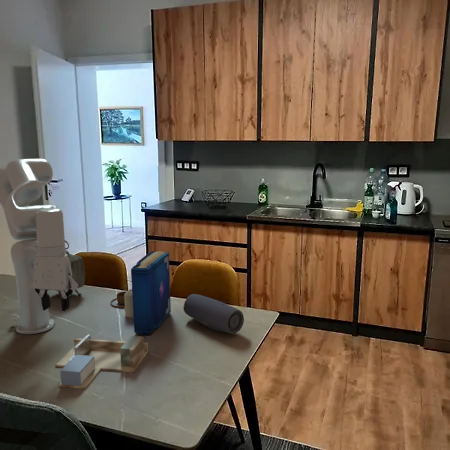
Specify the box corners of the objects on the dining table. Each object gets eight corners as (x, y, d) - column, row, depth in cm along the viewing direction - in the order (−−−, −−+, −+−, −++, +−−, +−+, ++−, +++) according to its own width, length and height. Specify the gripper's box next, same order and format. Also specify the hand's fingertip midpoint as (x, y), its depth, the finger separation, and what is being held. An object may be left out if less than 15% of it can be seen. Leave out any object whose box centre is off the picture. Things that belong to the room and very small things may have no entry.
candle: (127, 319, 163) (126, 293, 161) (123, 314, 168) (122, 289, 166) (141, 316, 166) (140, 291, 164) (137, 311, 170) (136, 287, 169)
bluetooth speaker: (245, 332, 152) (245, 305, 150) (226, 341, 145) (226, 312, 144) (201, 314, 168) (201, 289, 166) (182, 321, 161) (182, 295, 159)
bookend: (68, 362, 129) (67, 346, 128) (82, 348, 138) (81, 333, 137) (77, 363, 129) (76, 347, 128) (91, 349, 138) (90, 334, 137)
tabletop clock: (86, 296, 187) (82, 239, 183) (70, 303, 179) (66, 243, 175) (60, 291, 193) (56, 236, 188) (44, 298, 185) (39, 240, 180)
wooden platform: (36, 384, 119) (34, 364, 118) (77, 345, 142) (75, 328, 141) (121, 391, 116) (120, 370, 114) (148, 350, 138) (148, 332, 137)
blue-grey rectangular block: (61, 384, 118) (60, 370, 117) (76, 367, 127) (76, 354, 126) (80, 385, 117) (79, 372, 116) (95, 369, 126) (94, 356, 125)
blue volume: (150, 338, 147) (148, 266, 143) (131, 336, 149) (128, 265, 144) (171, 313, 168) (169, 250, 164) (153, 312, 170) (151, 249, 165)
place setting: (130, 296, 190) (130, 283, 188) (166, 305, 179) (166, 291, 178) (99, 309, 175) (98, 294, 174) (136, 319, 165) (136, 304, 163)
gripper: (17, 252, 126) (22, 312, 129) (73, 255, 124) (77, 315, 127) (31, 246, 133) (36, 303, 137) (85, 248, 131) (88, 306, 134)
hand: (56, 308), depth 132 cm, fingers open, 5 cm apart
